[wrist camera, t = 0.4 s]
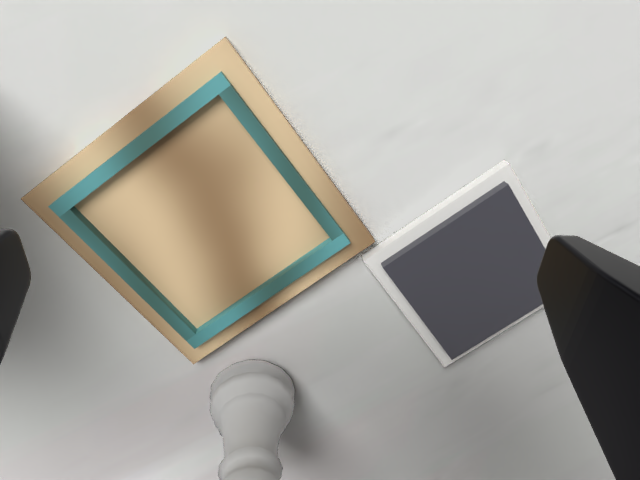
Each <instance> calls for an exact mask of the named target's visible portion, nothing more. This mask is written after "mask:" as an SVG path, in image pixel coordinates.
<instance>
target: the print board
mask: <svg viewBox="0 0 640 480" xmlns="http://www.w3.org/2000/svg"><path fill="white" fill-rule="evenodd" d="M21 200H22V201H23V202H24V203H25V204H26V205H27V206H29V207H30V208H31V209H32V210H33V211H34V212H35V213H36V214H37V215H38V216H39V217H40V218H41V219H42V220H43V221H44V222H45V223H46V224H47V225H48V226H49V227H50V228H52V229H53V230H54V231H55V232H56V233H57V234H58V235H59V236H60V237H61V238H62V239H63V240H64V241H65V242H66V243H67V244H68V245H69V246H70V247H71V248H72V249H74V250H75V251H76V252H77V253H78V254H79V255H80V256H81V257H82V258H83V259H84V260H85V261H86V262H87V263H88V264H89V265H90V266H91V267H92V268H93V269H94V270H95V271H97V272H98V273H99V274H100V275H101V276H102V277H103V278H104V279H105V280H106V281H107V282H108V283H109V284H110V285H111V286H112V287H113V288H114V289H115V290H116V291H117V292H119V293H120V294H121V295H122V296H123V297H124V298H125V299H126V300H127V301H128V302H129V303H130V304H131V305H132V306H133V307H134V308H135V309H136V310H137V311H138V312H139V313H140V314H142V315H143V316H144V317H145V318H146V319H147V320H148V321H149V322H150V323H151V324H152V325H153V326H154V327H155V328H156V329H157V330H158V331H159V332H160V333H161V334H162V335H164V336H165V337H166V338H167V339H168V340H169V341H170V342H171V343H172V344H173V345H174V346H175V347H176V348H177V349H178V350H179V351H180V352H181V353H182V354H183V355H184V356H185V357H187V358H188V359H189V360H190V361H191V362H192V363H193V364H195V363H196V362H198V361H199V360H201V359H202V358H204V357H205V356H207V355H208V354H210V353H211V352H213V351H214V350H216V349H217V348H218V347H220V346H221V345H223V344H224V343H226V342H227V341H229V340H230V339H232V338H233V337H235V336H236V335H238V334H239V333H241V332H242V331H244V330H245V329H247V328H248V327H250V326H251V325H253V324H254V323H256V322H257V321H259V320H260V319H261V318H263V317H264V316H266V315H267V314H269V313H270V312H272V311H273V310H275V309H276V308H278V307H279V306H281V305H282V304H284V303H285V302H287V301H288V300H290V299H291V298H293V297H294V296H296V295H297V294H299V293H300V292H302V291H303V290H305V289H306V288H307V287H309V286H310V285H312V284H313V283H315V282H316V281H318V280H319V279H321V278H322V277H324V276H325V275H327V274H328V273H330V272H331V271H333V270H334V269H336V268H337V267H339V266H340V265H342V264H343V263H345V262H346V261H348V260H349V259H350V258H352V257H353V256H355V255H356V254H358V253H359V252H361V251H362V250H364V249H365V248H367V247H368V246H370V245H371V244H373V243H374V242H375V240H374V238H373V236H372V235H371V234H370V232H369V231H368V230H367V228H366V227H365V225H364V224H363V223H362V221H361V220H360V219H359V217H358V216H357V215H356V213H355V212H354V210H353V209H352V208H351V206H350V205H349V204H348V202H347V201H346V200H345V198H344V197H343V195H342V194H341V193H340V191H339V190H338V189H337V187H336V186H335V185H334V183H333V182H332V181H331V179H330V178H329V176H328V175H327V174H326V172H325V171H324V170H323V168H322V167H321V166H320V164H319V163H318V161H317V160H316V159H315V157H314V156H313V155H312V153H311V152H310V151H309V149H308V148H307V146H306V145H305V144H304V142H303V141H302V140H301V138H300V137H299V136H298V134H297V133H296V132H295V130H294V129H293V127H292V126H291V125H290V123H289V122H288V121H287V119H286V118H285V117H284V115H283V114H282V112H281V111H280V110H279V108H278V107H277V106H276V104H275V103H274V102H273V100H272V99H271V97H270V96H269V95H268V93H267V92H266V91H265V89H264V88H263V87H262V85H261V84H260V82H259V81H258V80H257V78H256V77H255V76H254V74H253V73H252V72H251V70H250V69H249V68H248V66H247V65H246V63H245V62H244V61H243V59H242V58H241V57H240V55H239V54H238V53H237V51H236V50H235V48H234V47H233V46H232V44H231V43H230V42H229V40H228V39H227V38H226V37H224V38H223V39H222V40H221V41H219V42H218V43H217V44H216V45H214V46H213V47H212V48H211V49H209V50H208V51H207V52H206V53H204V54H203V55H202V56H200V57H199V58H198V59H197V60H195V61H194V62H193V63H192V64H190V65H189V66H188V67H187V68H185V69H184V70H183V71H182V72H180V73H179V74H178V75H176V76H175V77H174V78H173V79H171V80H170V81H169V82H168V83H166V84H165V85H164V86H163V87H161V88H160V89H159V90H158V91H156V92H155V93H154V94H152V95H151V96H150V97H149V98H147V99H146V100H145V101H144V102H142V103H141V104H140V105H139V106H137V107H136V108H135V109H133V110H132V111H131V112H130V113H128V114H127V115H126V116H125V117H123V118H122V119H121V120H120V121H118V122H117V123H116V124H115V125H113V126H112V127H111V128H109V129H108V130H107V131H106V132H104V133H103V134H102V135H101V136H99V137H98V138H97V139H96V140H94V141H93V142H92V143H91V144H89V145H88V146H87V147H85V148H84V149H83V150H82V151H80V152H79V153H78V154H77V155H75V156H74V157H73V158H72V159H70V160H69V161H68V162H67V163H65V164H64V165H63V166H61V167H60V168H59V169H58V170H56V171H55V172H54V173H53V174H51V175H50V176H49V177H48V178H46V179H45V180H44V181H43V182H41V183H40V184H39V185H37V186H36V187H35V188H34V189H32V190H31V191H30V192H29V193H27V194H26V195H25V196H24V197H22V198H21Z"/></svg>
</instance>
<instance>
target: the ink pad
mask: <svg viewBox="0 0 640 480" xmlns="http://www.w3.org/2000/svg"><path fill="white" fill-rule="evenodd" d="M550 239H551V237H550V235H549V233H548V231H547V229H546V228H545V226H544V224H543V222H542V220H541V219H540V217H539V215H538V213H537V211H536V210H535V208H534V206H533V204H532V202H531V201H530V199H529V197H528V195H527V193H526V192H525V190H524V188H523V186H522V184H521V183H520V181H519V179H518V177H517V175H516V174H515V172H514V170H513V168H512V167H511V165H510V163H509V162H507V161H505V160H503V161H501V162H500V163H498V164H497V165H496V166H494V167H493V168H491V169H490V170H488V171H487V172H485V173H484V174H482V175H481V176H479V177H478V178H476V179H475V180H473V181H472V182H470V183H469V184H467V185H466V186H464V187H463V188H461V189H460V190H458V191H457V192H455V193H454V194H452V195H451V196H449V197H448V198H446V199H445V200H443V201H442V202H441V203H439V204H438V205H436V206H435V207H433V208H432V209H430V210H429V211H427V212H426V213H424V214H423V215H421V216H420V217H418V218H417V219H415V220H414V221H412V222H411V223H409V224H408V225H406V226H405V227H403V228H402V229H400V230H399V231H397V232H396V233H394V234H393V235H391V236H390V237H388V238H387V239H385V240H384V241H383V242H381V243H380V244H378V245H377V246H375V247H374V248H372V249H371V250H369V251H368V252H366V253H365V254H363V255H362V259H363V261H364V263H365V264H366V265H367V266H368V268H369V269H370V270H371V272H372V273H373V274H374V276H375V277H376V278H377V280H378V281H379V282H380V284H381V285H382V286H383V287H384V289H385V290H386V291H387V293H388V294H389V295H390V297H391V298H392V299H393V301H394V302H395V303H396V305H397V306H398V307H399V308H400V310H401V311H402V312H403V314H404V315H405V316H406V318H407V319H408V320H409V322H410V323H411V324H412V326H413V327H414V328H415V329H416V331H417V332H418V333H419V335H420V336H421V337H422V339H423V340H424V341H425V343H426V344H427V345H428V346H429V348H430V349H431V350H432V352H433V353H434V354H435V356H436V357H437V358H438V360H439V361H440V362H441V364H442V365H443V366H444V367H446V366H448V365H449V364H451V363H453V362H454V361H456V360H458V359H459V358H461V357H463V356H464V355H466V354H467V353H469V352H471V351H472V350H474V349H476V348H477V347H479V346H480V345H482V344H484V343H485V342H487V341H489V340H490V339H492V338H494V337H495V336H497V335H498V334H500V333H502V332H503V331H505V330H507V329H508V328H510V327H511V326H513V325H515V324H516V323H518V322H520V321H521V320H523V319H524V318H526V317H528V316H529V315H531V314H533V313H534V312H536V311H538V310H539V309H541V308H542V307H544V306H543V303H542V300H541V297H540V293H539V290H538V287H537V274H538V270H539V267H540V264H541V261H542V258H543V255H544V252H545V249H546V246H547V244H548V241H549V240H550Z"/></svg>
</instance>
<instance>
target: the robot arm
mask: <svg viewBox="0 0 640 480" xmlns="http://www.w3.org/2000/svg"><path fill="white" fill-rule="evenodd" d="M30 280H31V273H30V268H29V265H28V261H27V258H26V255H25V252H24V249H23V246H22V243H21V240H20V237H19V235H18V234H17V232H15V231H14V230H12V229H0V364H1V362H2V359H3V357H4V354H5V352H6V349H7V347H8V344H9V341H10V338H11V335H12V333H13V330H14V327H15V324H16V321H17V319H18V316H19V313H20V310H21V307H22V305H23V302H24V299H25V296H26V293H27V291H28V288H29V285H30ZM537 287H538V290H539V293H540V297H541V300H542V303H543V306H544V309H545V312H546V315H547V318H548V321H549V324H550V327H551V330H552V334H553V337H554V340H555V343H556V346H557V349H558V352H559V354H560V357H561V360H562V362H563V364H564V367H565V369H566V371H567V374H568V376H569V378H570V380H571V382H572V385H573V387H574V389H575V391H576V393H577V396H578V398H579V400H580V402H581V404H582V407H583V409H584V411H585V413H586V415H587V417H588V420H589V422H590V424H591V426H592V428H593V431H594V433H595V435H596V437H597V439H598V442H599V444H600V446H601V448H602V450H603V452H604V455H605V457H606V459H607V461H608V463H609V466H610V468H611V470H612V472H613V474H614V476H615V479H616V480H640V266H638V265H636V264H634V263H632V262H630V261H628V260H626V259H624V258H622V257H619V256H617V255H615V254H613V253H611V252H609V251H607V250H605V249H603V248H601V247H599V246H597V245H595V244H593V243H591V242H589V241H587V240H584V239H582V238H580V237H578V236H562V235H558V236H554V237H552V238H551V239H550V240H549V241H548V244H547V246H546V249H545V252H544V255H543V258H542V261H541V264H540V267H539V270H538V274H537Z"/></svg>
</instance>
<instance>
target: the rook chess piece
mask: <svg viewBox="0 0 640 480" xmlns="http://www.w3.org/2000/svg"><path fill="white" fill-rule="evenodd" d="M294 394H295V389H294V386H293V383H292V380H291V378H290V377H289V376H288V375H287V374H286V373H285V372H284V370H283V369H282V368H280V367H278V366H276V365H273V364H271V363H269V362H267V361H262V360H246V361H242V362H238V363H235V364H232V365H231V366H229V367H228V368H226V369H225V370H223V371H222V372H220V373H219V374H218V376H217V377H216V379H215V380H214V382H213V384H212V385H211V393H210V400H211V403H210V413H211V416H212V419H213V421H214V423H215V426H216V428H218V430H219V432H220V435H221V436H222V437H223V446H224V459H223V461H222V462H221V463H220V465H219V471H218V476H219V478H220V480H280V478H281V475H282V470H283V467H282V465H281V462H280V459H279V458H278V444H279V437H280V435H281V434H282V433H283V431H284V430H285V427H286V426H287V424H288V423H289V422H290V420H291V418H292V414H293V408H294V403H295V402H294Z"/></svg>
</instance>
